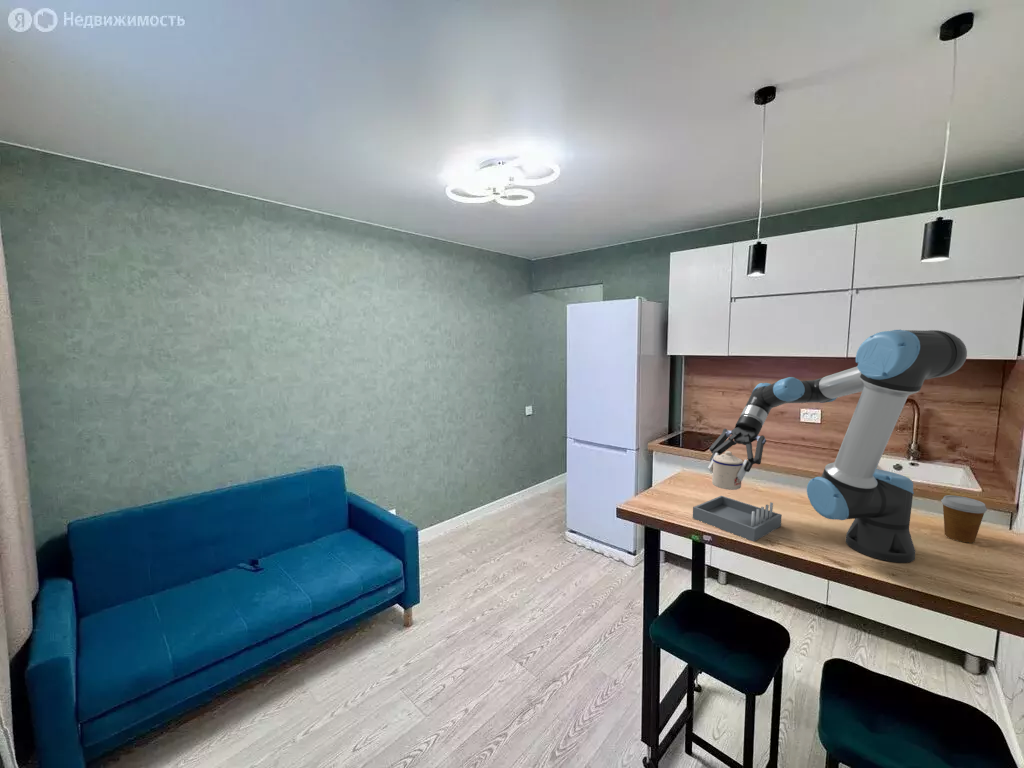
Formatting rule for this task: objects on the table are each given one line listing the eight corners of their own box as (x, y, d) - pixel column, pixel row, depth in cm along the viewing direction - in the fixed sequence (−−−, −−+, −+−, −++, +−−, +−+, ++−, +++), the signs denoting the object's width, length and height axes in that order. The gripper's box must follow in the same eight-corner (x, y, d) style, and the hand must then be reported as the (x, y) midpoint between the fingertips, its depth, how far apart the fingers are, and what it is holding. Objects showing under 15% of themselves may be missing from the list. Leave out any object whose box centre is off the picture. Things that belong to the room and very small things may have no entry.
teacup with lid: (740, 492, 133) (743, 457, 131) (709, 487, 138) (711, 452, 136) (743, 481, 143) (745, 448, 141) (714, 476, 148) (716, 444, 146)
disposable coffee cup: (969, 547, 121) (974, 508, 120) (929, 533, 130) (933, 496, 129) (990, 543, 124) (996, 504, 123) (950, 529, 133) (954, 493, 132)
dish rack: (780, 526, 135) (782, 502, 135) (753, 541, 125) (755, 516, 124) (720, 506, 152) (721, 485, 151) (692, 518, 142) (693, 495, 141)
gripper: (788, 433, 138) (762, 490, 130) (723, 422, 155) (697, 471, 148) (782, 419, 134) (755, 477, 127) (716, 410, 152) (689, 460, 145)
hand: (724, 474), depth 137 cm, fingers closed on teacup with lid, 9 cm apart
